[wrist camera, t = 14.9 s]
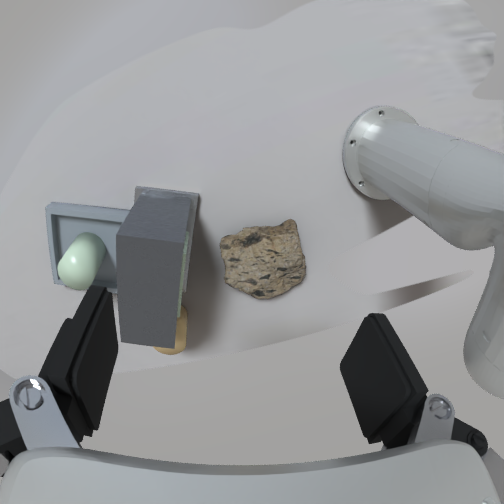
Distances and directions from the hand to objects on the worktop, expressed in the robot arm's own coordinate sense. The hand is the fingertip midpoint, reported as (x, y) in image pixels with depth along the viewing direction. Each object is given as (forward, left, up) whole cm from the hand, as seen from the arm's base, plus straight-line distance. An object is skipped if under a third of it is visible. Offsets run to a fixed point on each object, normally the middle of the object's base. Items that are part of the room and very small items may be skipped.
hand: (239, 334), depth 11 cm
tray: (+15, +13, -27) cm, 34 cm away
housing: (+5, +11, -27) cm, 30 cm away
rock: (-8, +12, -28) cm, 31 cm away
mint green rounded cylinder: (+15, +13, -27) cm, 34 cm away
